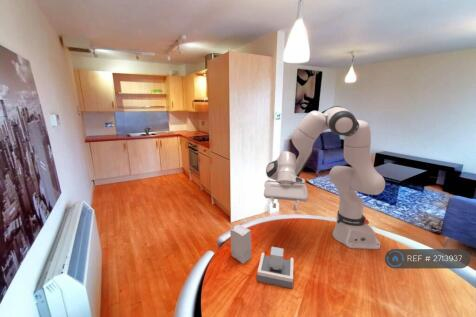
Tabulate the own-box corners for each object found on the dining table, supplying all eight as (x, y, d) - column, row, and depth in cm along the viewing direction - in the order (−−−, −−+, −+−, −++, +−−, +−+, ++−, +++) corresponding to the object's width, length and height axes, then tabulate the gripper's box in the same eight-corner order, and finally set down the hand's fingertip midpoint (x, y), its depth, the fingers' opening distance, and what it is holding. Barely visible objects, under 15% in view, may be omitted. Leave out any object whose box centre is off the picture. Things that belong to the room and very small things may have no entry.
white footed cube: (282, 264, 92) (283, 248, 90) (281, 273, 87) (282, 257, 85) (271, 262, 93) (271, 246, 91) (269, 271, 88) (270, 254, 86)
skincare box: (251, 258, 100) (252, 230, 96) (242, 264, 96) (242, 235, 92) (239, 249, 106) (239, 223, 102) (230, 255, 101) (229, 228, 98)
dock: (292, 266, 95) (293, 258, 93) (292, 288, 83) (293, 279, 82) (261, 260, 98) (261, 252, 97) (257, 281, 87) (257, 271, 86)
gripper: (264, 176, 104) (261, 204, 97) (308, 179, 98) (308, 208, 92) (265, 182, 109) (262, 208, 102) (307, 184, 103) (307, 212, 97)
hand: (284, 208), depth 97 cm, fingers open, 8 cm apart
